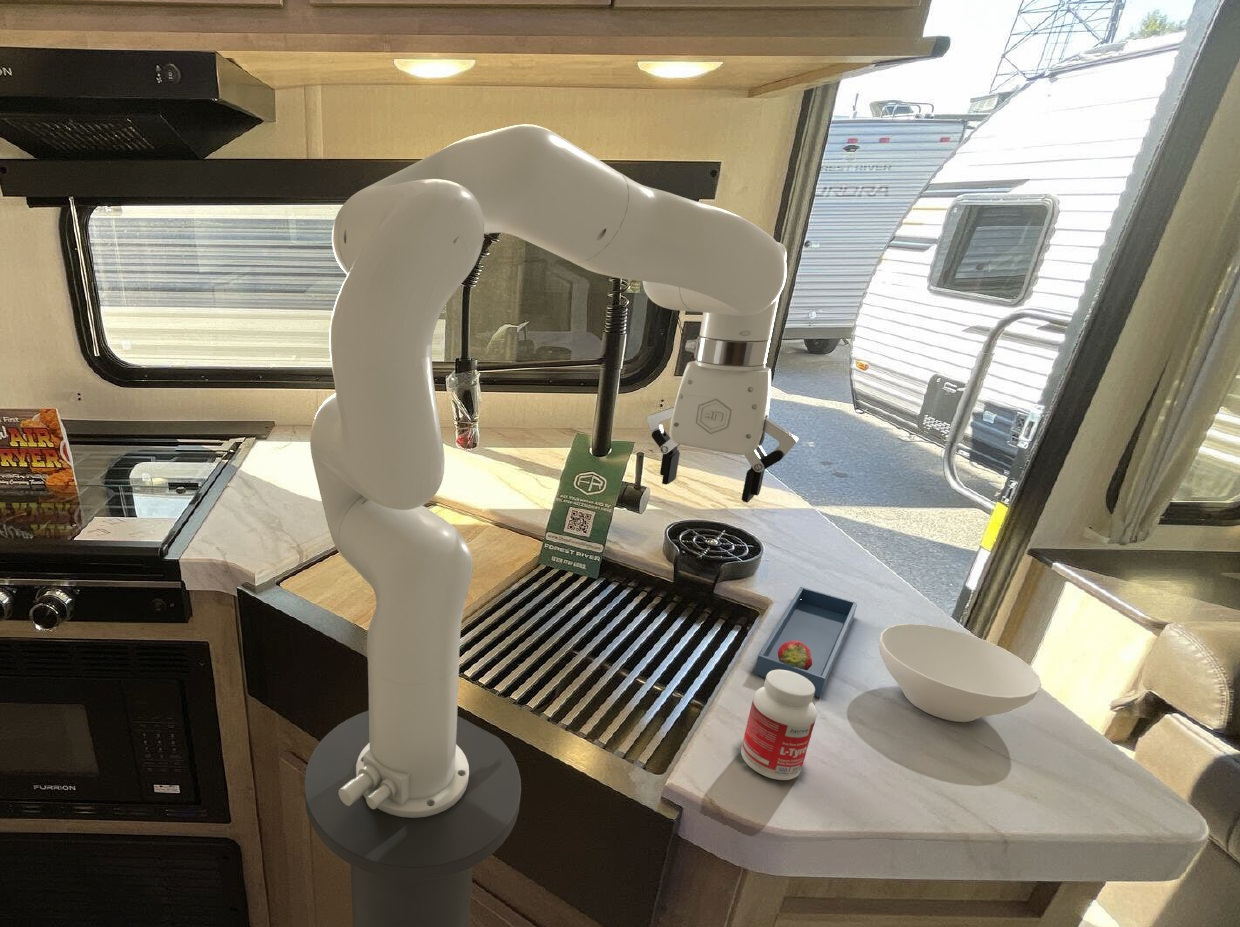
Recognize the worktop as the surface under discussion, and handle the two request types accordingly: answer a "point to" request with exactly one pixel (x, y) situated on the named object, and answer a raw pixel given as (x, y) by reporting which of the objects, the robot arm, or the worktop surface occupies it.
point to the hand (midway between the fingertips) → (706, 490)
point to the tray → (810, 635)
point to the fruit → (795, 654)
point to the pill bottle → (780, 725)
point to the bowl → (955, 672)
